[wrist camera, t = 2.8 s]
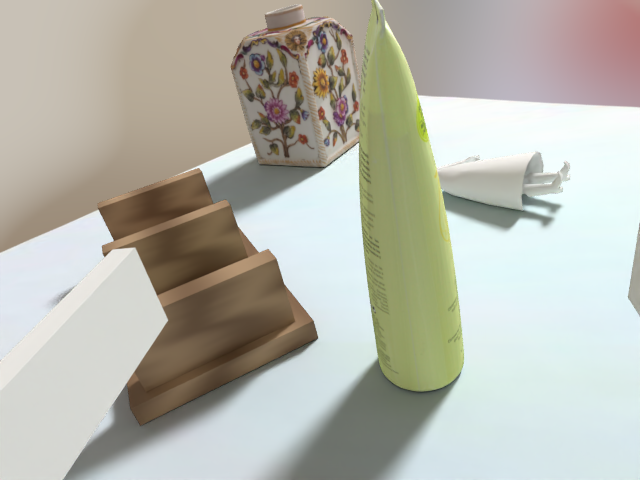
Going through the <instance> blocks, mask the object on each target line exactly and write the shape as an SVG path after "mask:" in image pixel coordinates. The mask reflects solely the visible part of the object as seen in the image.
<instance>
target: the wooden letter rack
mask: <svg viewBox="0 0 640 480" xmlns="http://www.w3.org/2000/svg"><path fill="white" fill-rule="evenodd" d="M98 209H99V211H100V213H101V215H102V217H103V219H104V221H105V223H106V225H107V227H108V229H109V231H110V233H111V235H112V237H113V239H114V241H113V242H111V243H108V244H105V245H103V246H102V251H103V255H104V257H106V256H107V255H108V254H109V253H110V252H111V251H112V250H113V249H124V248H136V250H137V253H138V255H139V257H140V259H141V261H142V264H143V266H144V268H145V270H146V273H147V275H148V277H149V279H150V281H151V284H152V286H153V288H154V290H155V292H156V295H157V297H158V299H159V301H160V303H161V306H162V308H163V310H164V312H165V314H166V317H167V319H168V321H167V323H166V324H165V326H164V327H163V329H162V330H161V332H160V333H159V335H158V336H157V338H156V339H155V341H154V342H153V344H152V345H151V347H150V348H149V350H148V352H147V353H146V355H145V356H144V358H143V359H142V361H141V362H140V364H139V365H138V367H137V368H136V370H135V371H134V373H133V374H132V376H131V377H130V379H129V380H128V382H127V387H128V395H129V402H130V409H131V411H132V412H133V414H134V416H135V417H136V419H137V421H138V422H139V424H140V426H141V425H143V424H145V423H147V422H149V421H151V420H153V419H155V418H157V417H159V416H161V415H163V414H165V413H167V412H169V411H171V410H173V409H175V408H177V407H179V406H181V405H183V404H185V403H187V402H189V401H191V400H193V399H195V398H198V397H200V396H202V395H204V394H206V393H208V392H210V391H212V390H214V389H216V388H218V387H220V386H222V385H224V384H226V383H228V382H230V381H232V380H234V379H236V378H238V377H240V376H242V375H244V374H246V373H248V372H250V371H252V370H254V369H256V368H258V367H260V366H262V365H264V364H266V363H268V362H270V361H272V360H274V359H277V358H279V357H281V356H283V355H285V354H287V353H289V352H291V351H293V350H295V349H297V348H299V347H301V346H303V345H305V344H307V343H309V342H311V341H313V340H315V339H317V338H318V335H317V332H316V328H315V324H314V321H313V320H312V318H311V317H310V316H309V315H308V313H307V312H306V311H305V310H304V308H303V307H302V306H301V305H300V303H299V302H298V301H297V300H296V298H295V297H294V296H293V295H292V293H291V292H290V291H289V290H288V288H287V287H286V286H285V285H284V282H283V279H282V275H281V272H280V269H279V266H278V262H277V259H276V258H275V256H274V255H273V254H272V253H271V252H270V251H269V249H267V250H265V251H262V252H260V253H259V252H258V251H257V250H256V249H255V247H254V246H253V245H252V244H251V242H250V241H249V240H248V239H247V237H246V236H245V235H244V234H243V232H242V231H241V230H240V229H239V227H238V226H237V223H236V220H235V217H234V214H233V211H232V208H231V205H230V204H229V203H228V202H227V200H226V199H225V200H223V201H220V202H217V203H215V204H213V201H212V199H211V196H210V193H209V190H208V188H207V185H206V182H205V179H204V176H203V174H202V171H201V170H200V169H199V168H197V169H194V170H192V171H189V172H186V173H183V174H180V175H177V176H174V177H172V178H169V179H166V180H163V181H160V182H157V183H154V184H152V185H149V186H146V187H143V188H140V189H137V190H134V191H131V192H129V193H126V194H123V195H120V196H117V197H114V198H111V199H108V200H106V201H103V202H100V203H98Z"/></svg>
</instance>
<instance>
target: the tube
mask: <svg viewBox="0 0 640 480" xmlns="http://www.w3.org/2000/svg"><path fill="white" fill-rule="evenodd" d="M371 1H372V11H371V15H370V19H369V24H368V29H367V34H366V42H365V48H364V55H363V64H362V75H361V92H360V122H359V186H360V207H361V222H362V234H363V245H364V256H365V265H366V273H367V282H368V289H369V297H370V304H371V312H372V319H373V326H374V332H375V339H376V346H377V353H378V359H379V364H380V367H381V370H382V372H383V374H384V375H385V376H386V377H387V379H389V380H390V381H391V382H392V383H394V384H395V385H397V386H399V387H401V388H404V389H407V390H411V391H432V390H436V389H439V388H442V387H444V386H446V385H448V384H449V383H451V382H452V381H453V380H455V378H456V377H457V376H458V375H459V374H460V372H461V370H462V367H463V364H464V349H463V338H462V328H461V318H460V309H459V301H458V292H457V284H456V276H455V268H454V261H453V254H452V247H451V241H450V234H449V228H448V222H447V217H446V211H445V206H444V200H443V195H442V190H441V186H440V181H439V177H438V172H437V168H436V164H435V160H434V156H433V153H432V149H431V145H430V141H429V137H428V133H427V129H426V125H425V121H424V117H423V113H422V110H421V106H420V102H419V99H418V95H417V91H416V88H415V84H414V81H413V78H412V75H411V72H410V69H409V66H408V64H407V61H406V59H405V56H404V54H403V52H402V50H401V48H400V46H399V44H398V42H397V40H396V39H395V37H394V36H393V33H392V31H391V29H390V27H389V25H388V24H387V22H386V20H385V14H384V10H383V8H382V7H381V5H380V4H379V2H378V0H371Z"/></svg>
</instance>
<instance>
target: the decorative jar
mask: <svg viewBox="0 0 640 480" xmlns="http://www.w3.org/2000/svg"><path fill="white" fill-rule="evenodd" d="M265 19H266V23H267V28H266V29H263V30H260V31H257V32H254V33H252V34H250V35H248V36H246V37H244V38H243V40H242V42H241V43H240V45H239V46H238V48H237V52H236V54H235V56H234V59H233V62H232V64H231V70H232V74H233V77H234V81H235V84H236V88H237V91H238V95H239V99H240V102H241V106H242V110H243V113H244V116H245V120H246V124H247V127H248V130H249V134H250V137H251V141H252V144H253V147H254V150H255V154H256V157H257V159H258V163H259V164H267V165H269V164H270V165H287V166H307V167H326V166H327V165H328V164H330V163H331V162H332V161H334V160H335V159H336V158H338V157H339V156H340V155H342V154H343V153H344V152H345V151H347V150H348V149H349V148H351V147H352V146H353V145H355V144H356V143H357V142H359V122H360V92H361V82H360V77H359V71H358V66H357V61H356V55H355V50H354V43H353V38H352V35H351V34H350V33H349V32H348V31H347V30H346V29H345V28H344V27H343V26H342V25H341V24H340V23H338V22H337V21H336V20H334V19H332V18H330V17H314V18H308V19H305V15H304V11H303V7H302V5H300V4H297V5H292V6H289V7H285V8H281V9H277V10H274V11H272V12H268V13H266V14H265Z"/></svg>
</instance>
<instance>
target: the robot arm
mask: <svg viewBox="0 0 640 480" xmlns="http://www.w3.org/2000/svg"><path fill="white" fill-rule="evenodd" d="M628 298H629V300H630V301H631V303H632V305H633V306H634V308H635V309H636V311H637V312H638V314H639V315H640V224H639V231H638V237H637V243H636V250H635V256H634V262H633V268H632V275H631V281H630V287H629V294H628ZM167 321H168V319H167V317H166V314H165V312H164V310H163V308H162V306H161V303H160V301H159V299H158V297H157V295H156V292H155V290H154V288H153V286H152V284H151V281H150V279H149V277H148V275H147V273H146V270H145V268H144V266H143V264H142V261H141V259H140V257H139V255H138V253H137V250H136V248H124V249H113V250H112V251H111V252H110V253H109V254H108V255H107V256H106V257H105V258H104V259H102V260H101V261H100V262H99V263H98V264H97V265H96V266H95V267H94V268H93V269H92V270H91V271H90V272H89V273H88V274H87V275H86V276H85V277H84V278H83V279H82V280H81V281H80V282H79V283H78V284H77V285H76V286H75V287H74V288H73V289H72V290H71V291H70V292H69V293H68V294H67V295H66V296H65V297H64V298H63V299H62V300H61V301H60V302H59V303H58V304H57V305H56V306H55V307H54V308H53V309H52V310H51V311H50V312H49V313H48V314H47V315H46V316H45V317H44V318H43V319H42V320H41V321H40V322H39V323H38V324H37V325H36V326H35V327H34V328H33V329H32V330H31V331H30V332H29V333H28V334H27V335H26V336H25V337H24V338H23V339H22V340H21V341H20V342H19V343H18V344H17V345H16V346H15V347H14V348H13V349H12V350H11V351H10V352H9V353H8V354H7V355H6V356H5V357H4V358H3V359H2V360H1V361H0V480H63V479H64V478H65V476H66V474H67V473H68V471H69V470H70V468H71V467H72V465H73V464H74V462H75V461H76V459H77V458H78V456H79V455H80V453H81V452H82V450H83V449H84V447H85V446H86V444H87V443H88V441H89V440H90V438H91V437H92V435H93V433H94V432H95V430H96V429H97V427H98V426H99V424H100V423H101V421H102V420H103V418H104V417H105V415H106V414H107V412H108V411H109V409H110V408H111V406H112V405H113V403H114V402H115V400H116V399H117V397H118V396H119V394H120V393H121V391H122V389H123V388H124V386H125V385H126V383H127V382H128V380H129V379H130V377H131V376H132V374H133V373H134V371H135V370H136V368H137V367H138V365H139V364H140V362H141V361H142V359H143V358H144V356H145V355H146V353H147V352H148V350H149V348H150V347H151V345H152V344H153V342H154V341H155V339H156V338H157V336H158V335H159V333H160V332H161V330H162V329H163V327H164V326H165V324H166V323H167Z"/></svg>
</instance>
